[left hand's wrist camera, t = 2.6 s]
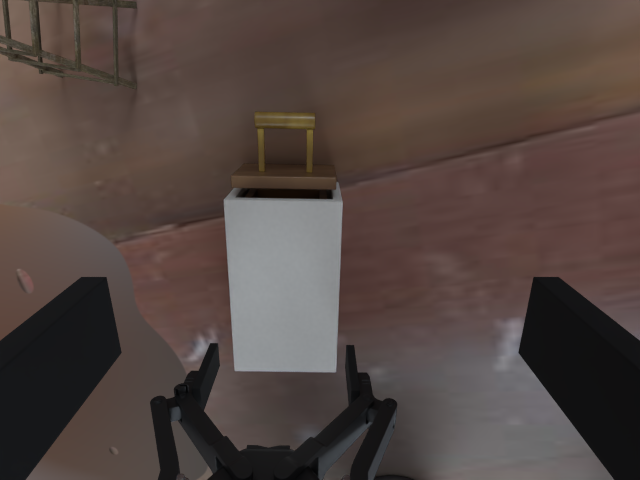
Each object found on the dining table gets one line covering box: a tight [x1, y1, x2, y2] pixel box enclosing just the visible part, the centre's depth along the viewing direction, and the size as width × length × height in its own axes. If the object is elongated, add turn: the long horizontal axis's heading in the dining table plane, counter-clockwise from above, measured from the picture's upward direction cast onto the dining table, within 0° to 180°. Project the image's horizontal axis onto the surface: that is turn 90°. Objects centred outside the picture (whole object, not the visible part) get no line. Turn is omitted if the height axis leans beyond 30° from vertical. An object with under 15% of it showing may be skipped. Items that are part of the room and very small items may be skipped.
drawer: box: [231, 112, 337, 199], centre depth 44 cm, size 24×10×7 cm, turn 179°
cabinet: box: [224, 182, 343, 372], centre depth 46 cm, size 20×11×9 cm, turn 179°
